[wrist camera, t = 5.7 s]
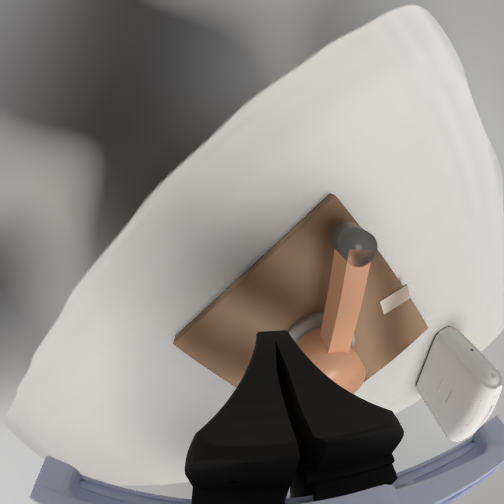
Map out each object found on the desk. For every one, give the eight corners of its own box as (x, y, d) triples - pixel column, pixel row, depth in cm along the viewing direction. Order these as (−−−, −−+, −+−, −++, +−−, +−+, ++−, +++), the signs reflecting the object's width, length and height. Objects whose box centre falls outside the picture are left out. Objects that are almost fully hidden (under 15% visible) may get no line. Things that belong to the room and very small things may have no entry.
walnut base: (298, 415, 28) (301, 429, 26) (175, 335, 23) (170, 350, 21) (425, 319, 24) (435, 330, 22) (333, 190, 20) (343, 193, 18)
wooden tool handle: (342, 370, 23) (355, 400, 19) (287, 374, 22) (294, 407, 19) (376, 221, 18) (405, 237, 14) (308, 217, 18) (326, 232, 14)
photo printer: (434, 329, 25) (494, 397, 13) (458, 322, 25) (516, 381, 13) (411, 389, 28) (449, 455, 17) (434, 381, 29) (473, 440, 17)
